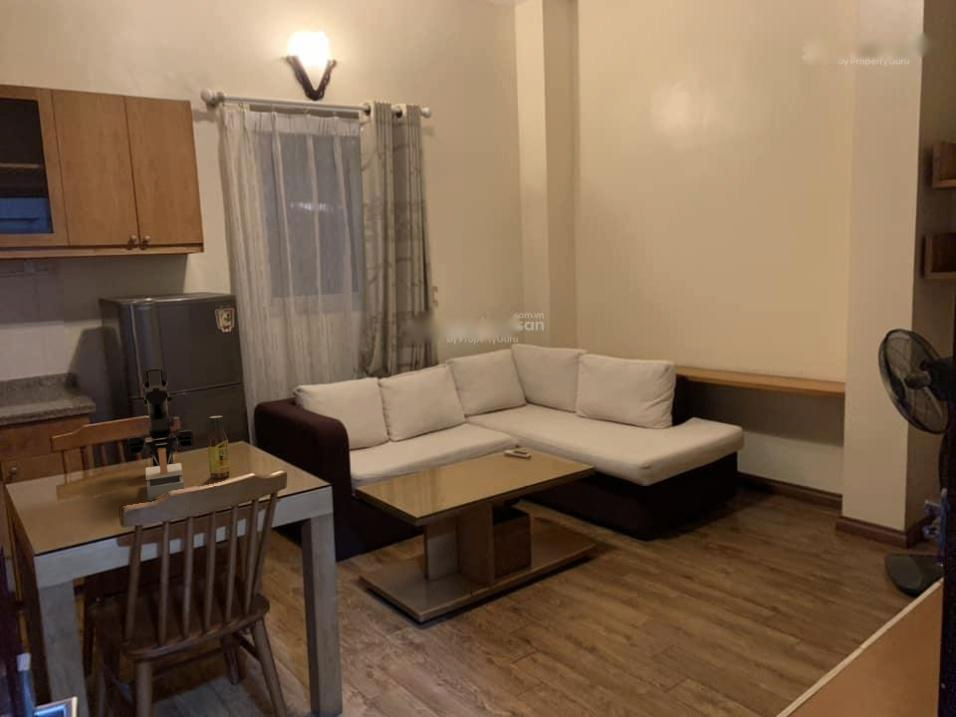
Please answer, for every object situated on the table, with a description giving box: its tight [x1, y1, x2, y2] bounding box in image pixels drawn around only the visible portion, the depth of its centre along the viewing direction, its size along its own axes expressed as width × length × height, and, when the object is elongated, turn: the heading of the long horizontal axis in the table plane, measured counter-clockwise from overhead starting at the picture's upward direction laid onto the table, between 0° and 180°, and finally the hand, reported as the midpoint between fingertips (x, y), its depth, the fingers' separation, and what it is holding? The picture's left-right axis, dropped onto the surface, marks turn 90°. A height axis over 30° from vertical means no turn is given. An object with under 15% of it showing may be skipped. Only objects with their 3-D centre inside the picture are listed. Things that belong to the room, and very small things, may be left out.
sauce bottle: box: [207, 415, 231, 479], centre depth 233 cm, size 6×6×20 cm
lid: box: [145, 448, 184, 481], centre depth 225 cm, size 12×10×8 cm
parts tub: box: [146, 475, 185, 501], centre depth 219 cm, size 12×10×4 cm
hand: (163, 464), depth 221 cm, fingers closed on lid, 2 cm apart
